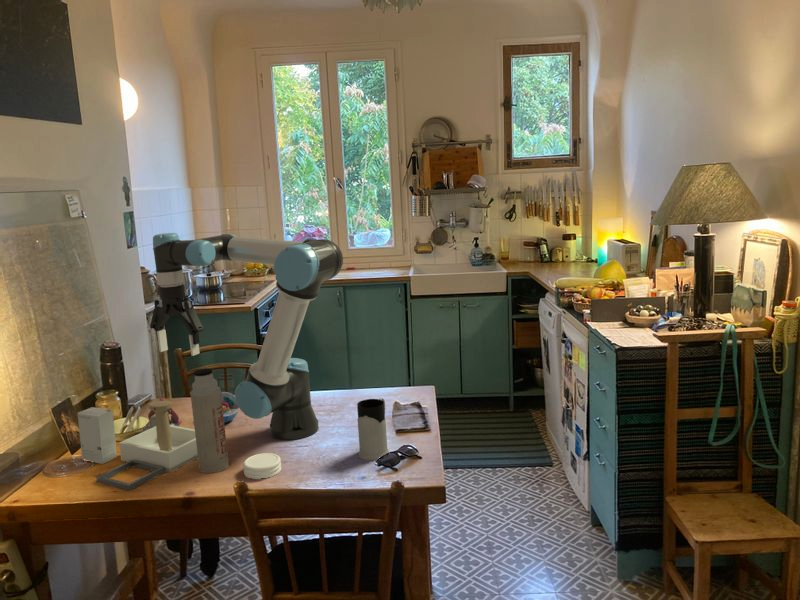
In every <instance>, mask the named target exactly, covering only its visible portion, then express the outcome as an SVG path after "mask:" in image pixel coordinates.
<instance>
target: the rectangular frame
mask: <svg viewBox="0 0 800 600" xmlns="http://www.w3.org/2000/svg"><path fill="white" fill-rule="evenodd" d="M133 466H134V467H133ZM137 467H138V468H137ZM127 468H128V469H130V468H137V469H141V468H142V470H146V469H147V470H146V471H150V470H152V471H150V472H148V473H147V474H144V475H143V476H141V477H138V478H137V479H134V480H133V481H131V482H126V481H122V480H118V479H114V478H112V477H114V476H115V475H118V474H120V473H122V472H124V471H127V470H128V469H127ZM162 473H163V474H164V473H166V471H165V467H163V466H158V465H154V464H150V463H145V462H141V461H137V460H130V461H128V462H124V463H122V464H121V465H118V466H116V467H114V468H112V469H110V470H107V471H105V472H103V473H101V474H99V475H97V476H96V477H95V478H96V483H97V484H98V483H99V484H103V485H105V486H106V485H107V486H109V487H113V488H118V489H120V490H121V489H122V490H125V491H128V492H130V491H132V490H134V489H136V488H138V487H139V485H140V486H141V484H142V485H143V483H144V484H145V483H147V482H150V481H151V480H153V479H155V478H157V477H159V476H160V474H161V475H162ZM158 475H159V476H158ZM156 476H157V477H156ZM154 477H155V478H154ZM137 486H138V487H137Z"/></svg>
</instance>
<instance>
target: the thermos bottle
mask: <svg viewBox="0 0 800 600" xmlns="http://www.w3.org/2000/svg"><path fill="white" fill-rule="evenodd" d="M193 375H194V382H192V384H191V388H192V390H191V391H190V394H189V395H190V400H191V401H190V403H191V410H192V417H193V425H194V428H193V429H194V430H195V436H196V444H197V453H198V458H197V459H198V469H199V471H200V472H202V473H205V472H206V473H207V474H209V473H210V474H211V473H212V472H213V473H218V472H220V471H223V469H224V470H226V469H227V468H228V467H229V463H230V462H229V454H228V444H227V435H226V434H227V433H226V427H225V423H224V416H223V407H222V398H221V392H222V391H221V389H222V388H221V387H220V386H218V385H219V384H218V381H217V379H215V378H214V375H213V369H212V368H210V367H209V368H208V367H207V368H199V369H196V370H193ZM206 473H205V474H206Z"/></svg>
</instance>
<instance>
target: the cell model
mask: <svg viewBox="0 0 800 600" xmlns="http://www.w3.org/2000/svg"><path fill="white" fill-rule="evenodd" d="M221 398H222V407H223V416H224V424H226V423H229V422H231V421H232V420H234V419H235V418H236V417H237V415H238V412H239V410H240V408H239V406H238V404H237V403H236V399H235V394H233V393H232V392H227V391H221Z"/></svg>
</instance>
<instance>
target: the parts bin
mask: <svg viewBox="0 0 800 600" xmlns="http://www.w3.org/2000/svg"><path fill="white" fill-rule="evenodd" d="M170 430H171V436H172V446H171V447H172V450H171V451H169V452H168V451H163V450H160V448H159V444H158V440H157V430H156V426H155V427H153V428H151V429H149V430H146V431H145V430H143V431H142V432H140V433H138V434H136V435H133V436H131V437H129V438H127V439H124V440H122V441H119V442H118V445H119V446H118V447H119V453H120V460H122V462H125V461H126V462H128V461H130V460H137V461H141V462H145V463H150V464H154V465H158V466H163V467H165V472H167V471H169V472H168V473H171V471H172V472H174V471H175V469H176V470H177V469H179V468H181V467H183V466H185V465H187V464H189V463H191V462H192V461H194V460H196V459H198V453H197V444H196V436H195V428H188V427H183V426H173V425H170ZM190 461H191V462H190ZM126 462H125V463H126ZM188 462H189V463H188ZM186 463H187V464H186ZM184 464H185V465H184ZM182 465H183V466H182ZM180 466H181V467H180ZM178 467H179V468H178ZM173 470H174V471H173Z"/></svg>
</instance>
